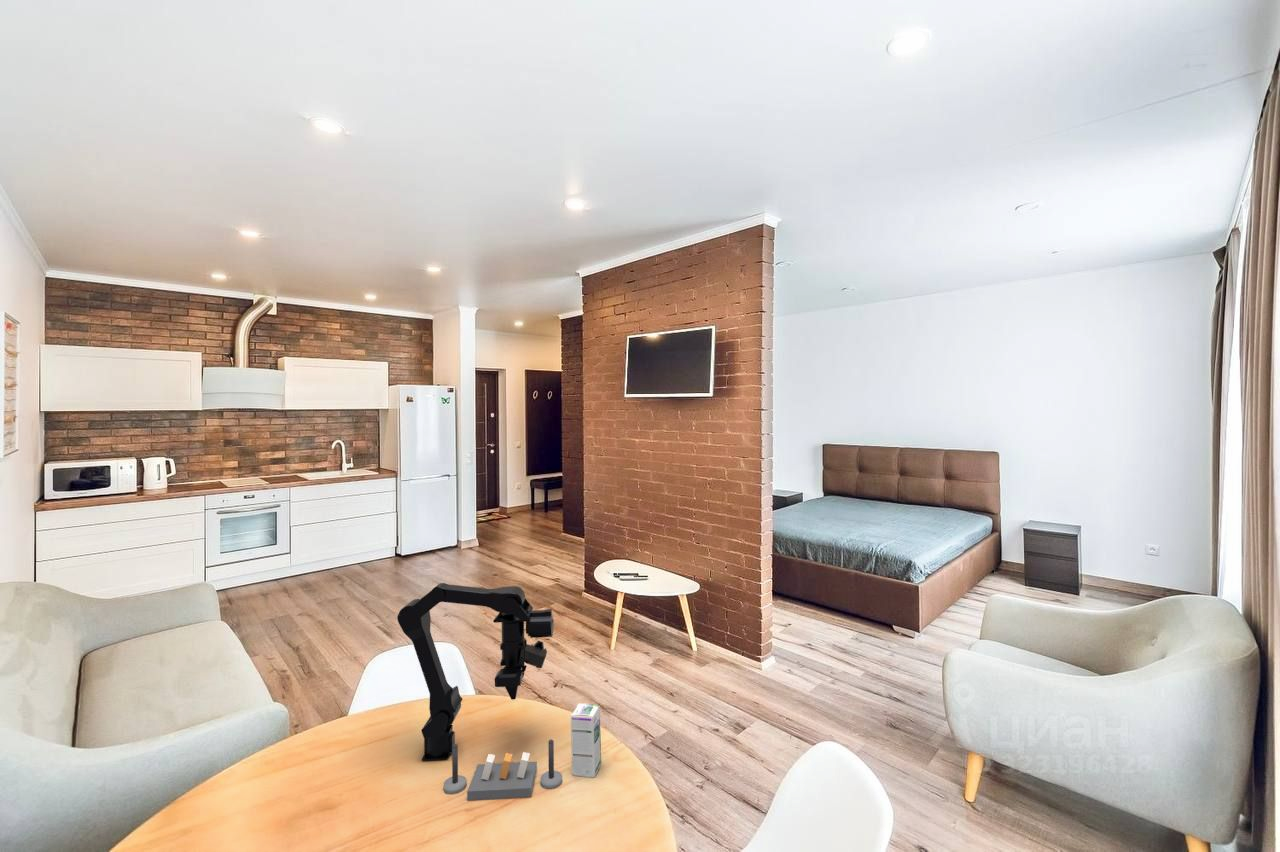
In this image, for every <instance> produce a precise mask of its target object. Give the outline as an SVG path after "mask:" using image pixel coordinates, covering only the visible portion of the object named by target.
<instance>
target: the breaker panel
mask: <svg viewBox="0 0 1280 852" xmlns="http://www.w3.org/2000/svg"><path fill="white" fill-rule="evenodd" d="M520 762H521V761H519V762H518V761H517V762H515V761H514V762H511V763H510V767H509V771H508V774H507V778H506V779H502V778H499V776H500V772H501V769H502V765H503V762H498V763H497V762H496V763H495V762H494V763H493V767H492V770H491V774H490V777H489V779H488V780H485V779H481V778H482V774H483V770H484V767H485V763H482V764H481V763H478V764H477V765H476V768H475V771H474V773H473V776H472V778H471V781H470V783H469V785H468V788H467V791H466V800H467V801H469V802H470V801H485V800H488V801H489V800H505V799H506V800H507V799H522V798H532V794H533V790H534V787H535V786H534V785H535V779H536V775H537V771H538V762H537V761H536V760H535V761H528V763H527V767H526V771H525V775H524V778H519V777H517V774H518V770H519V766H520Z"/></svg>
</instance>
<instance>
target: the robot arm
mask: <svg viewBox="0 0 1280 852" xmlns="http://www.w3.org/2000/svg"><path fill="white" fill-rule="evenodd" d="M440 603H447V604H448V603H450V604H459V605H460V604H461V605H468V606H477V607H478V606H479V607H485V608H489V609H491V610H493V611H495V612H497V613H498V614H497V615H496V616H495V618H493V620H492V622H493V623H496V624H497V623H501V643H500V645H499V649H500V651H501V660H500V663H499V665H500V667H502V668H501V669H499V670H498V671H497V672H496V675H495V677H494V687H496V688H505V690H506V692H507V694H508V696H509V698H510V699H511V700H516V699H517V694H518V689H519V686H521V684H522V682H523V678H524V676H525V672H526V669H527V665H525V664H528V665H531V666H534V667H536V668H537V669H542V668H543V666H544V663H545V660H546V656H547V653H548V650H547V648H545V645H544V644H545V643H544V642H543V641H542V640H537V641H536V642H535V643H534V644H533V643H532V644H528V642H527V639H526V637H525V633H526V634H527V637H530V639H535V638H552V637H553V636H554V626H555V623H554V621H555V620H554V619H553V618H554V615H553V610H552V609H551V608H546V609H540V610H539V609H537V610H534V607H533V606H532V605H531V603H530V601H529V600H528V599H527V598H526V594H525V592H524V589H522V587H521V586H516V585H512V586H510V585H509V586H500V587H497V588H496V587H495V588H487V587H486V588H484V587H476V586H475V587H474V586H468V585H467V586H466V585H459V584H458V585H456V584H450V583H449V584H448V583H445V582H440V583H437V585H435V586H434V588H432V589H431V590H430V591H429V592H428V593H427V594H425V595H423V596H422V597H421V598H415V599H412V600H411V601H409V602H408V603H407V604H405V605H404V606H403V607H402V608H401V609H400V610H399V612H398V614H397V616H396V617H397V619H396V620H397V622H398V625H399V626H400V628H401V630H402V632H403V634H405V636H406V637H408V638H409V640H410V641H411V642H412V645H413V647H414V651H415V653H416V656H417V659H418V663H419V666H420V669H421V671H422V675H423V677H424V678H423V679H424V681H425V684H426V687H427V690H428V692H429V707H428V710H429V717H428V718H427V720H426V722H425V724H424V726H423V727H422V728H421V734H422V736H423V740H424V741H423V747H424V748H423V751H424V753H423V756H422V757H421V761H424V762H425V761H426V762H427V761H444V760H445V761H446V760H448V759H449V758H450V756H451V755H452V746H453V745H454V744H456V737H455V734H456V731H454V730H453V728H454V727H453V724H454V723H453V722H454V721H455V720H456V719H457V715H458V714H459V712H460V710H461V708H462V701H463V697H462V696H461V695H460V689H459V686H458V685H456V686H454V687H452V686H451V685H450V684H449V683H448V681H447V678H446V675H445V672H444V669H443V666H442V663H441V660H440V657H439V654H438V653H439V652H438V651H437V647H436V644H435V641H434V638H433V636H432V634H431V623H432V622H431V621H432V620H431V619H432V618H431V613H430V612H431V610H432V609H433V608H434V607H436V606H437V605H438V604H440Z"/></svg>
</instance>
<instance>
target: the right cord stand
mask: <svg viewBox="0 0 1280 852" xmlns="http://www.w3.org/2000/svg"><path fill="white" fill-rule="evenodd" d="M554 743H555V742H554V739H552V738H551V739H549V740H548V742H547V747H548V753H547V754H548V771H545V772H544V773H542V774H541V776H540V779H539V781H540V786H541V788H543V789H545V790H555V789H557V788H559V787H560V786H561V785H562V783H563V774H562V772H560V771H558V770H555V762H554V761H555V760H554V759H555V756H554V751H555V747H554Z"/></svg>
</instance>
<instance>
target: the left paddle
mask: <svg viewBox="0 0 1280 852" xmlns="http://www.w3.org/2000/svg"><path fill="white" fill-rule="evenodd" d="M495 758H496V755H495V754H492V753H488V755H487V758H486V761H485V763H484V764H485V767H484V770H483V774H482V778H481V779H485V780H488V779H489V777H490V774H491V770H492V767H493V764H495Z"/></svg>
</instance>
